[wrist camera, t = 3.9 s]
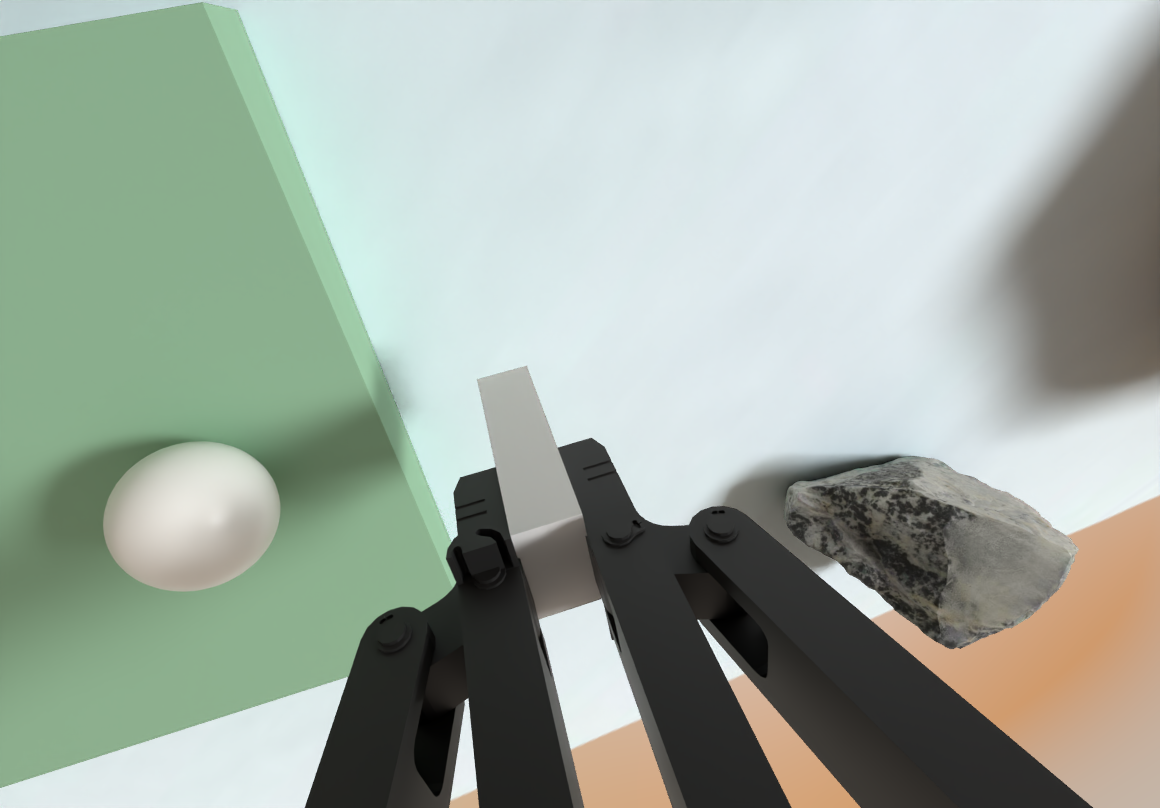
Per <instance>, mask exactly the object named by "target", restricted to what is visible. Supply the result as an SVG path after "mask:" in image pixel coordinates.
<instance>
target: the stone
mask: <svg viewBox="0 0 1160 808" xmlns="http://www.w3.org/2000/svg"><path fill="white" fill-rule="evenodd" d="M784 518H785V520H786V521H787V526H788V528H789V529H790V530H791V531H792V533H793V534H794V536H796V537H797V538H799V539H800V540H802V541H803V542H804V543H805V544H806V545H807V546H809V547H812V548H814V549H816V550H818V551H820V552H822V553H823V554H824V555H826V556H829V557H831V558H833V559H835V560H836V561H838V562H839V563H840V564H841V565H842V566H843V567H844V568H845V570H846V572H847V573H848V574H849V575H851V576H853V577H855V578H857V579H859V580H860V581H861V582H862V583H864V584H865V585H866V586H867V587H868V588H871V589H873V590H876V591H877V592H878V593H879V594H880V595H881V596H882V598H883V599H884V600H885V601H886V602H887V603H889V604H890V605H891V606H892V607H893V608H894V610H895V611H897V612H898V613H899V614H900V615H902V616H903V617H905V618H906V619H907V620H909V621H910V622H912V623H913V624H915V625H916V626H918V627H919V628H920V630H921V631H922V632H923V633H924V634H926V635H927V636H929V637H930V638H931V639H933V640H934V641H936V642H938V643H940V644H942V645H944V646H945V647H947V648H949V649H954V648H956V647H957V648H960V649H961V648H963V647H965V646H967V645H969V644H971V643H974V642H975V641H977V640H979V639H981V638H985V637H987V636H988V635H991V634H995V633H997V632H1000V631H1002V630H1003V629H1005V628H1012V627H1014V626H1015V625H1017V624H1019V623H1021V622H1022V621H1024V620H1025V619H1028V618H1029V617H1030V616H1031V615H1032V614H1033V613H1034V612H1036V611H1037V610H1038V609H1040V608H1041V606H1042V604H1044V603H1045V602H1046V601H1048V599H1049V598H1050V597H1051V596H1052V595H1053V594H1054V593H1055V592H1056V591H1057V590H1059V588H1060V587H1061V585H1062V584H1063V582H1064V581H1065V579H1066V577H1067V575H1068V573H1069V571H1070V568H1071V564H1072V563H1073V562H1074V561H1075V559H1074V556H1075V554H1076V553H1077V551H1078V550H1079V549H1078V548H1077V546H1076V545H1075V544H1074V543H1073V542H1072V539H1071V538H1069V537H1067V536H1066V535H1064V534H1063V533H1061V532H1060V531H1058V530H1056V529H1054V528H1052V526H1051V524H1050V522H1048V521H1047V520H1045V519H1044V518H1043V517H1041V515H1040V514H1039V512H1037V511H1036V510H1035V509H1033V508H1032V507H1031V506H1029V505H1028V504H1026V503H1025V502H1024V501H1022V500H1020V499H1018V498H1016V497H1014V496H1013V495H1011V494H1010V493H1008V492H1004V491H1000V490H997V489H994V488H991V487H990V486H988V485H987V484H985V483H982V482H981V481H979V480H978V479H976V478H974V477H971V476H967V475H963V474H959V473H957V472H956V471H954V470H953V469H952V468H950V467H949V466H948V465H946V464H945V463H943V462H942V461H940V460H936V459H932V458H925V457H917V456H909V457H902V458H898V459H896V460H894V461H890V462H887V463H885V464H883V465H874V466H870V467H867V468H858V469H854V470H852V471H847V472H844V473H841V474H838V475H834V476H830V477H827V478H823V479H817V480H814V481H797V482H796V483H794V484H793V485H792V486H790V487H789V488H788V491H787V494H786V501H785V508H784Z"/></svg>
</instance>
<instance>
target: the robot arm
mask: <svg viewBox="0 0 1160 808" xmlns="http://www.w3.org/2000/svg"><path fill="white" fill-rule="evenodd" d="M477 381H478V386H479V390H480V395H481V400H482V404H483V409H484V414H485V419H486V423H487V428H488V433H489V437H490V442H491V447H492V452H493V456H494V461H495V466H496V467H495V468H491V469H488V470H484V471H481V472H478V473H474V474H471V475H467V476H464V477H460V479H459V481H458V484H457V486H456V488H455V491H454V503H455V509H456V510H455V512H456V520H457V531H458V536H457V537H456V538H454V539H453V541H452V542H451V544H450V546H449V547H448V549H447V554H446V560H447V563H448V565H449V567H450V570H451V572H452V574H453V576H454V579H455V581H456V584H455V586H454V587H453V589H452V590H451V591H450V592H449V593H448V594H447V595H446V596H445V597H443V598H442V599H441V600H439V601H438V602H436V603H435V604H433V605H432V606H430V607H428V608H427V609H425V610H424V611H422V612H421V611H419V610H418V609H416V608H414V607H398V608H395V609H391V610H389V611H387V612H385V613H384V614H382V615H380V616H379V617H377V618H376V619H375V620H374V621H373V622H372V623H371V624H370V625H369V626H368V627H367V629H366V631H365V633H364V634H363V636H362V638H361V640H360V643H359V646H358V649H357V652H356V655H355V658H354V661H353V664H352V667H351V671H350V674H349V677H348V680H347V683H346V686H345V689H344V692H343V695H342V698H341V701H340V704H339V707H338V710H337V713H336V716H335V719H334V722H333V725H332V728H331V731H330V734H329V737H328V740H327V743H326V746H325V749H324V752H323V755H322V758H321V761H320V764H319V767H318V770H317V773H316V776H315V779H314V782H313V785H312V788H311V791H310V794H309V797H308V800H307V803H306V806H305V808H449V805H450V798H451V792H452V785H453V778H454V772H455V765H456V758H457V752H458V745H459V738H460V732H461V725H462V719H463V712H464V705H465V702H464V701H465V700H466V699H468V698H469V708H470V718H471V728H472V738H473V749H474V759H475V769H476V779H477V789H478V800H479V808H584V805H583V800H582V796H581V792H580V788H579V783H578V780H577V775H576V771H575V766H574V762H573V758H572V754H571V750H570V745H569V741H568V737H567V733H566V728H565V724H564V720H563V716H562V711H561V707H560V703H559V699H558V694H557V690H556V686H555V682H554V678H553V673H552V669H551V665H550V661H549V656H548V652H547V648H546V644H545V640H544V637H543V634H542V631H541V628H540V624H539V620H538V619H541V618H544V617H547V616H551V615H554V614H557V613H560V612H563V611H566V610H569V609H572V608H575V607H578V606H581V605H584V604H587V603H590V602H593V601H596V600H599V599H601V598H602V601H603V603H604V607H605V612H606V616H607V620H608V625H609V629H610V634H611V638H612V640H615V643H616V646H617V649H618V652H619V655H620V658H621V661H622V663H623V666H624V669H625V672H626V675H627V678H628V681H629V684H630V686H631V689H632V692H633V695H634V698H635V701H636V704H637V707H638V710H639V712H640V715H641V718H642V721H643V724H644V727H645V730H646V732H647V735H648V738H649V741H650V744H651V747H652V750H653V752H654V756H655V758H656V761H657V764H658V767H659V770H660V773H661V775H662V779H663V782H664V784H665V787H666V790H667V793H668V796H669V799H670V802H671V805H672V808H791V806H790V804H789V802H788V800H787V798H786V796H785V794H784V792H783V790H782V788H781V786H780V784H779V782H778V780H777V778H776V776H775V774H774V772H773V770H772V768H771V766H770V764H769V762H768V760H767V758H766V756H765V754H764V752H763V750H762V748H761V746H760V744H759V742H758V740H757V738H756V736H755V734H754V732H753V730H752V728H751V726H750V724H749V722H748V720H747V718H746V716H745V714H744V712H743V710H742V709H741V706H740V704H739V703H738V700H737V698H736V696H735V694H734V692H733V691H732V689H731V686H730V685H729V682H728V681H727V679H726V677H725V675H724V673H723V671H722V669H721V667H720V665H719V663H718V661H717V659H716V657H715V655H714V653H713V651H712V649H711V647H710V645H709V643H708V641H707V639H706V637H705V635H704V633H703V631H702V629H701V627H700V625H699V623H698V621H697V620H700V622H701V623H702V625H703V626H704V627H705V628H706V629H707V630H708V631H709V633H710V634H711V635H712V636H713V637H714V638H715V640H716V641H717V642H718V643H719V644H720V645H721V646H722V648H723V649H724V650H725V651H726V652H727V653H728V655H729V656H730V657H731V658H732V659H733V660H734V661H735V663H736V664H737V665H738V666H739V667H740V668H741V670H742V671H743V672H744V673H745V674H746V675H747V676H748V678H749V679H750V680H751V681H752V682H753V683H754V685H755V686H756V687H757V688H758V689H759V690H760V692H761V693H762V694H763V695H764V696H765V697H766V698H767V699H768V701H769V702H770V703H771V704H772V705H773V707H774V708H775V709H776V710H777V711H778V712H779V713H780V715H781V716H782V717H783V718H784V719H785V720H786V722H787V723H788V724H789V725H790V726H791V727H792V729H793V730H794V731H795V732H796V733H797V734H798V735H799V737H800V738H801V739H802V740H803V741H804V742H805V743H806V745H807V746H808V747H809V748H810V749H811V750H812V752H813V753H814V754H815V755H816V756H817V757H818V759H819V760H820V761H821V762H822V763H823V764H824V765H825V767H826V768H827V769H828V770H829V771H830V772H831V774H832V775H833V776H834V777H835V778H836V779H837V781H838V782H839V783H840V784H841V785H842V786H843V787H844V789H845V790H846V791H847V792H848V793H849V794H850V796H851V797H852V798H853V799H854V800H855V801H856V802H857V804H858V805H859V806H860V807H861V808H1093V807H1092V806H1090V805H1089V804H1088V803H1087V802H1086V801H1084V800H1083V799H1082V798H1081V797H1080V796H1079V795H1077V794H1076V793H1075V792H1074V791H1073V790H1071V789H1070V788H1069V787H1068V786H1067V785H1065V784H1064V783H1063V782H1062V781H1061V780H1060V779H1058V778H1057V777H1056V776H1055V775H1054V774H1052V773H1051V772H1050V771H1049V770H1048V769H1047V768H1045V767H1044V766H1043V765H1042V764H1041V763H1039V762H1038V761H1037V760H1036V759H1035V758H1034V757H1032V756H1031V755H1030V754H1029V753H1027V752H1026V751H1025V750H1024V749H1023V748H1022V747H1020V746H1019V745H1018V744H1017V743H1016V742H1015V741H1013V740H1012V739H1011V738H1010V737H1009V736H1007V735H1006V734H1005V733H1004V732H1003V731H1002V730H1000V729H999V728H998V727H997V726H996V725H994V724H993V723H992V722H991V721H990V720H988V719H987V718H986V717H985V716H984V715H983V714H981V713H980V712H979V711H978V710H977V709H975V708H974V707H973V706H972V705H971V704H969V703H968V702H967V701H966V700H965V699H964V698H962V697H961V696H960V695H959V694H957V693H956V692H955V691H954V690H953V689H952V688H951V687H949V686H948V685H947V684H946V683H944V682H943V681H942V680H941V679H940V678H939V677H938V676H936V675H935V674H934V673H933V672H932V671H930V670H929V669H928V668H927V667H926V666H925V665H923V664H922V663H921V662H920V661H918V660H917V659H916V658H915V657H914V656H913V655H911V654H910V653H909V652H908V651H907V650H905V649H904V648H903V647H902V646H901V645H900V644H898V643H897V642H896V641H895V640H894V639H893V638H891V637H890V636H889V635H888V634H887V633H885V632H884V631H883V630H882V629H881V628H879V627H878V626H877V625H876V624H875V623H874V622H872V621H871V620H870V619H869V618H868V617H866V616H865V615H864V614H863V613H862V612H861V611H859V610H858V609H857V608H856V607H855V606H853V605H852V604H851V603H850V602H849V601H847V600H846V599H845V598H844V597H843V596H842V595H840V594H839V593H838V592H837V591H836V590H834V589H833V588H832V587H831V586H830V585H829V584H827V583H826V582H825V581H824V580H823V579H821V578H820V577H819V576H818V575H817V574H815V573H814V572H813V571H812V570H811V569H810V568H808V567H807V566H806V565H805V564H804V563H802V562H801V561H800V560H799V559H798V558H797V557H795V556H794V555H793V554H792V553H791V552H789V551H788V550H787V549H786V548H785V547H784V546H782V545H781V544H780V543H779V542H778V541H776V540H775V539H774V538H773V537H772V536H770V535H769V534H768V533H767V532H766V531H765V530H763V529H762V528H761V527H760V526H759V525H757V524H756V523H755V522H754V521H753V520H752V519H750V518H749V517H748V516H747V515H745V514H744V513H742V512H740V511H739V510H737V509H734V508H730V507H725V506H718V507H710V508H707V509H704V510H701V511H700V512H699V513H697V514H696V515H695V516H694V517H693V518H692V520H691V522H690V524H689V525H685V526H662V525H657V524H653V523H651V522H649V521H647V520H645V519H644V518H643V517H641V516H640V515H639V514H638V512H637V511H636V509H635V508H634V506H633V503H632V501H631V499H630V497H629V495H628V493H627V491H626V489H625V487H624V485H623V483H622V481H621V479H620V477H619V475H618V473H617V472H616V469H615V467H614V465H613V463H612V462H611V459H610V457H609V455H608V453H607V451H606V449H605V447H604V446H602V445H601V444H600V443H598V442H597V441H595V440H594V439H592V438H589V439H586V440H582V441H579V442H576V443H572V444H569V445H565V446H562V447H559V448H557V445H556V443H555V440H554V437H553V435H552V432H551V429H550V427H549V424H548V421H547V419H546V416H545V413H544V411H543V408H542V405H541V403H540V400H539V397H538V395H537V392H536V389H535V387H534V384H533V382H532V379H531V376H530V374H529V371H528V368H527V366H524V367H520V368H517V369H513V370H509V371H506V372H502V373H498V374H495V375H491V376H487V377H484V378H480V379H477Z"/></svg>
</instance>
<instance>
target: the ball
mask: <svg viewBox="0 0 1160 808" xmlns="http://www.w3.org/2000/svg"><path fill="white" fill-rule="evenodd" d="M279 519H280V498H279V494H278V490H277V487H276V484H275V482H274V480H273V478H272V477H271V475H270V474H269V472H268V471H267V470H266V468H265V467H264V466H263V465H262V464H261V463H260V462H259V461H257V460H256V459H255V458H254V457H252V456H251V455H249V454H248V453H246V452H244V451H242V450H240V449H238V448H235V447H233V446H229V445H226V444H222V443H216V442H206V441H205V442H185V443H180V444H175V445H172V446H169V447H166V448H163V449H160V450H158V451H156V452H154V453H152V454H150V455H148V456H146V457H145V458H143V459H141V460H140V461H139V462H137V463H136V464H135V465H134V466H132V467H131V468H130V469H129V470H128V471H127V472H126V473H125V474H124V475H123V476H122V478H121V479H120V480H119V481H118V482H117V484H116V485H115V487H114V489H113V490H112V492H111V494H110V496H109V498H108V501H107V504H106V508H105V511H104V518H103V531H104V537H105V541H106V544H107V547H108V549H109V551H110V553H111V555H112V557H113V559H114V560H115V561H116V563H117V564H118V565H119V566H120V567H121V568H122V569H123V570H124V571H125V572H126V573H127V574H129V575H130V576H131V577H133V578H134V579H136V580H138V581H139V582H142V583H144V584H146V585H149V586H151V587H154V588H158V589H162V590H168V591H180V592H187V591H198V590H203V589H208V588H211V587H215V586H218V585H221V584H223V583H226V582H228V581H230V580H232V579H234V578H236V577H237V576H239V575H241V574H242V573H244V572H245V571H246V570H247V569H249V568H250V567H251V566H252V565H254V564H255V563H256V562H257V561H258V560H259V558H260V557H261V556H262V555H263V554H264V553H265V551H266V550H267V548H268V547H269V545H270V544H271V542H272V540H273V538H274V536H275V533H276V531H277V528H278V524H279Z"/></svg>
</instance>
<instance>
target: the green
mask: <svg viewBox="0 0 1160 808" xmlns="http://www.w3.org/2000/svg"><path fill="white" fill-rule="evenodd" d="M205 441H206V442H216V443H222V444H226V445H229V446H233V447H235V448H238V449H240V450H242V451H244V452H246V453H248V454H249V455H251V456H252V457H254V458H255V459H256V460H257V461H259V462H260V463H261V464H262V465H263V466H264V467H265V468H266V470H267V471H268V472H269V474H270V475H271V477H272V478H273V480H274V482H275V484H276V487H277V490H278V494H279V498H280V519H279V524H278V528H277V531H276V533H275V536H274V538H273V540H272V542H271V544H270V545H269V547H268V548H267V550H266V551H265V553H264V554H263V555H262V556H261V557H260V558H259V560H258V561H257V562H256V563H255V564H254V565H252V566H251V567H250V568H249V569H247V570H246V571H245V572H244V573H242V574H241V575H239V576H237V577H236V578H234V579H232V580H230V581H228V582H226V583H223V584H221V585H218V586H215V587H211V588H208V589H203V590H198V591H187V592H180V591H168V590H162V589H158V588H154V587H151V586H149V585H146V584H144V583H142V582H139V581H138V580H136V579H134V578H133V577H131V576H130V575H129V574H127V573H126V572H125V571H124V570H123V569H122V568H121V567H120V566H119V565H118V564H117V563H116V561H115V560H114V559H113V557H112V555H111V553H110V551H109V549H108V547H107V544H106V541H105V537H104V531H103V518H104V511H105V508H106V504H107V501H108V498H109V496H110V494H111V492H112V490H113V489H114V487H115V485H116V484H117V482H118V481H119V480H120V479H121V478H122V476H123V475H124V474H125V473H126V472H127V471H128V470H129V469H130V468H131V467H132V466H134V465H135V464H136V463H137V462H139V461H140V460H141V459H143V458H145V457H146V456H148V455H150V454H152V453H154V452H156V451H158V450H160V449H163V448H166V447H169V446H172V445H175V444H180V443H185V442H205ZM450 544H451V540H450V538H449V535H448V533H447V530H446V528H445V525H444V523H443V520H442V518H441V516H440V513H439V511H438V508H437V506H436V503H435V501H434V498H433V496H432V493H431V491H430V488H429V486H428V483H427V481H426V478H425V476H424V473H423V471H422V468H421V466H420V463H419V461H418V458H417V456H416V453H415V451H414V448H413V446H412V443H411V441H410V438H409V436H408V433H407V431H406V428H405V426H404V424H403V421H402V419H401V416H400V414H399V411H398V409H397V406H396V404H395V401H394V399H393V396H392V394H391V391H390V389H389V386H388V384H387V381H386V379H385V376H384V374H383V371H382V369H381V366H380V364H379V361H378V359H377V356H376V354H375V351H374V349H373V346H372V344H371V341H370V339H369V336H368V334H367V331H366V329H365V327H364V324H363V322H362V319H361V317H360V314H359V312H358V309H357V307H356V304H355V302H354V299H353V297H352V294H351V292H350V289H349V287H348V284H347V282H346V279H345V277H344V274H343V272H342V269H341V267H340V264H339V262H338V259H337V257H336V254H335V252H334V249H333V247H332V244H331V242H330V239H329V237H328V235H327V232H326V230H325V227H324V225H323V222H322V220H321V217H320V215H319V212H318V210H317V207H316V205H315V202H314V200H313V197H312V195H311V192H310V190H309V187H308V185H307V182H306V180H305V177H304V175H303V172H302V170H301V167H300V165H299V162H298V160H297V157H296V155H295V152H294V150H293V147H292V145H291V143H290V140H289V138H288V135H287V133H286V130H285V128H284V125H283V123H282V120H281V118H280V115H279V113H278V110H277V108H276V105H275V103H274V100H273V98H272V95H271V93H270V90H269V88H268V85H267V83H266V80H265V78H264V75H263V73H262V70H261V68H260V65H259V63H258V60H257V58H256V55H255V53H254V51H253V48H252V46H251V43H250V41H249V38H248V36H247V33H246V31H245V28H244V26H243V23H242V21H241V18H240V16H239V13H238V11H237V10H234V9H230V8H225V7H221V6H216V5H212V4H208V3H203V2H201V3H195V4H189V5H183V6H178V7H172V8H166V9H160V10H154V11H148V12H142V13H136V14H130V15H125V16H119V17H113V18H107V19H101V20H95V21H89V22H83V23H77V24H71V25H66V26H60V27H54V28H48V29H42V30H36V31H30V32H24V33H18V34H13V35H7V36H1V37H0V788H2V787H5V786H8V785H11V784H14V783H17V782H20V781H23V780H27V779H30V778H33V777H36V776H39V775H42V774H45V773H48V772H52V771H55V770H58V769H61V768H64V767H67V766H70V765H73V764H77V763H80V762H83V761H86V760H89V759H92V758H95V757H98V756H102V755H105V754H108V753H111V752H114V751H117V750H120V749H123V748H127V747H130V746H133V745H136V744H139V743H142V742H145V741H148V740H152V739H155V738H158V737H161V736H164V735H167V734H170V733H173V732H177V731H180V730H183V729H186V728H189V727H192V726H195V725H198V724H202V723H205V722H208V721H211V720H214V719H217V718H220V717H223V716H226V715H230V714H233V713H236V712H239V711H242V710H245V709H248V708H251V707H255V706H258V705H261V704H264V703H267V702H270V701H273V700H276V699H280V698H283V697H286V696H289V695H292V694H295V693H298V692H301V691H305V690H308V689H311V688H314V687H317V686H320V685H323V684H326V683H330V682H333V681H336V680H339V679H342V678H345V677H348V676H349V674H350V671H351V667H352V664H353V661H354V658H355V655H356V652H357V649H358V646H359V643H360V640H361V638H362V636H363V634H364V633H365V631H366V629H367V627H368V626H369V625H370V624H371V623H372V622H373V621H374V620H375V619H376V618H377V617H379V616H380V615H382V614H384V613H385V612H387V611H389V610H391V609H395V608H398V607H414V608H416V609H418V610H419V611H421V612H422V611H424V610H425V609H427V608H428V607H430V606H432V605H433V604H435V603H436V602H438V601H439V600H441V599H442V598H443V597H445V596H446V595H447V594H448V593H449V592H450V591H451V590H452V589H453V587H454V586H455V584H456V581H455V579H454V576H453V574H452V572H451V570H450V567H449V565H448V563H447V560H446V554H447V549H448V547H449V546H450Z"/></svg>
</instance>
